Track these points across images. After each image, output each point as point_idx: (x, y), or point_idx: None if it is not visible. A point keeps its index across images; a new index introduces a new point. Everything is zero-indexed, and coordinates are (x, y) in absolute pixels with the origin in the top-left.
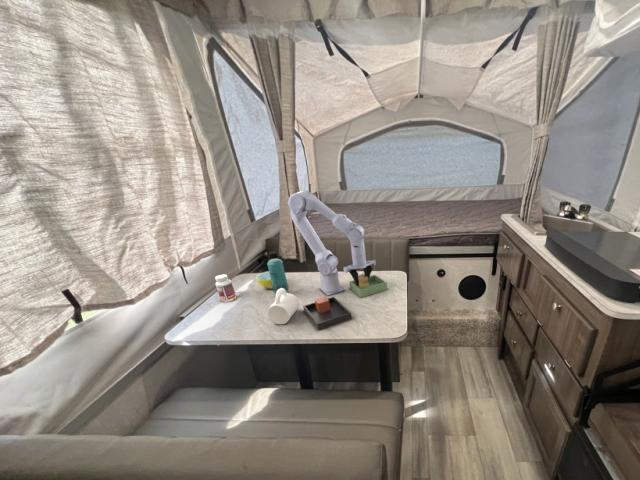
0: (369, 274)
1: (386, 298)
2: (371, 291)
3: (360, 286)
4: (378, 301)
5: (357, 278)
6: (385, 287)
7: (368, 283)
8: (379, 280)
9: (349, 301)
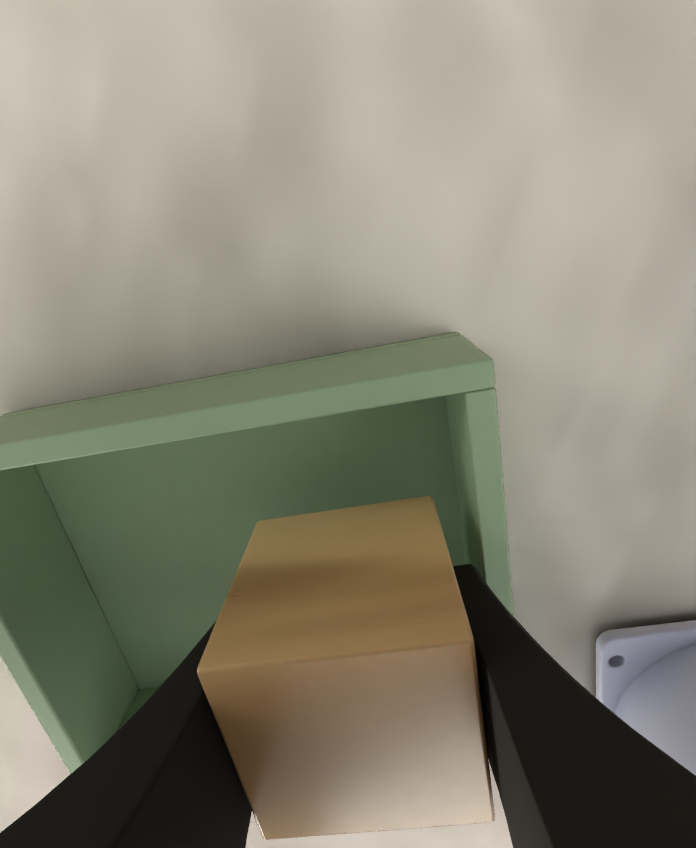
0: (119, 750)
1: (56, 69)
2: (258, 375)
3: (425, 519)
4: (223, 8)
5: (515, 691)
6: (4, 420)
7: (249, 551)
8: (52, 630)
9: (679, 280)
